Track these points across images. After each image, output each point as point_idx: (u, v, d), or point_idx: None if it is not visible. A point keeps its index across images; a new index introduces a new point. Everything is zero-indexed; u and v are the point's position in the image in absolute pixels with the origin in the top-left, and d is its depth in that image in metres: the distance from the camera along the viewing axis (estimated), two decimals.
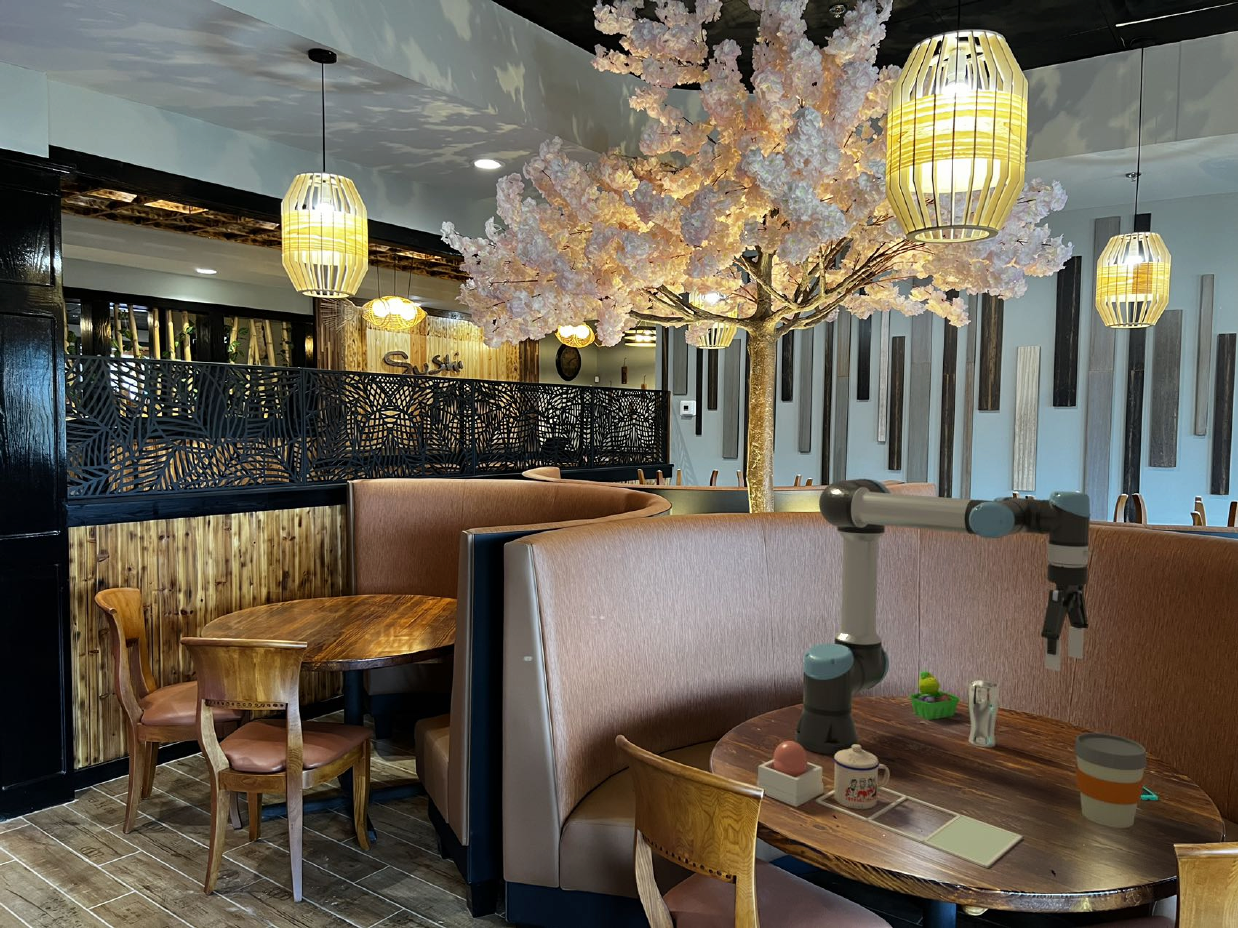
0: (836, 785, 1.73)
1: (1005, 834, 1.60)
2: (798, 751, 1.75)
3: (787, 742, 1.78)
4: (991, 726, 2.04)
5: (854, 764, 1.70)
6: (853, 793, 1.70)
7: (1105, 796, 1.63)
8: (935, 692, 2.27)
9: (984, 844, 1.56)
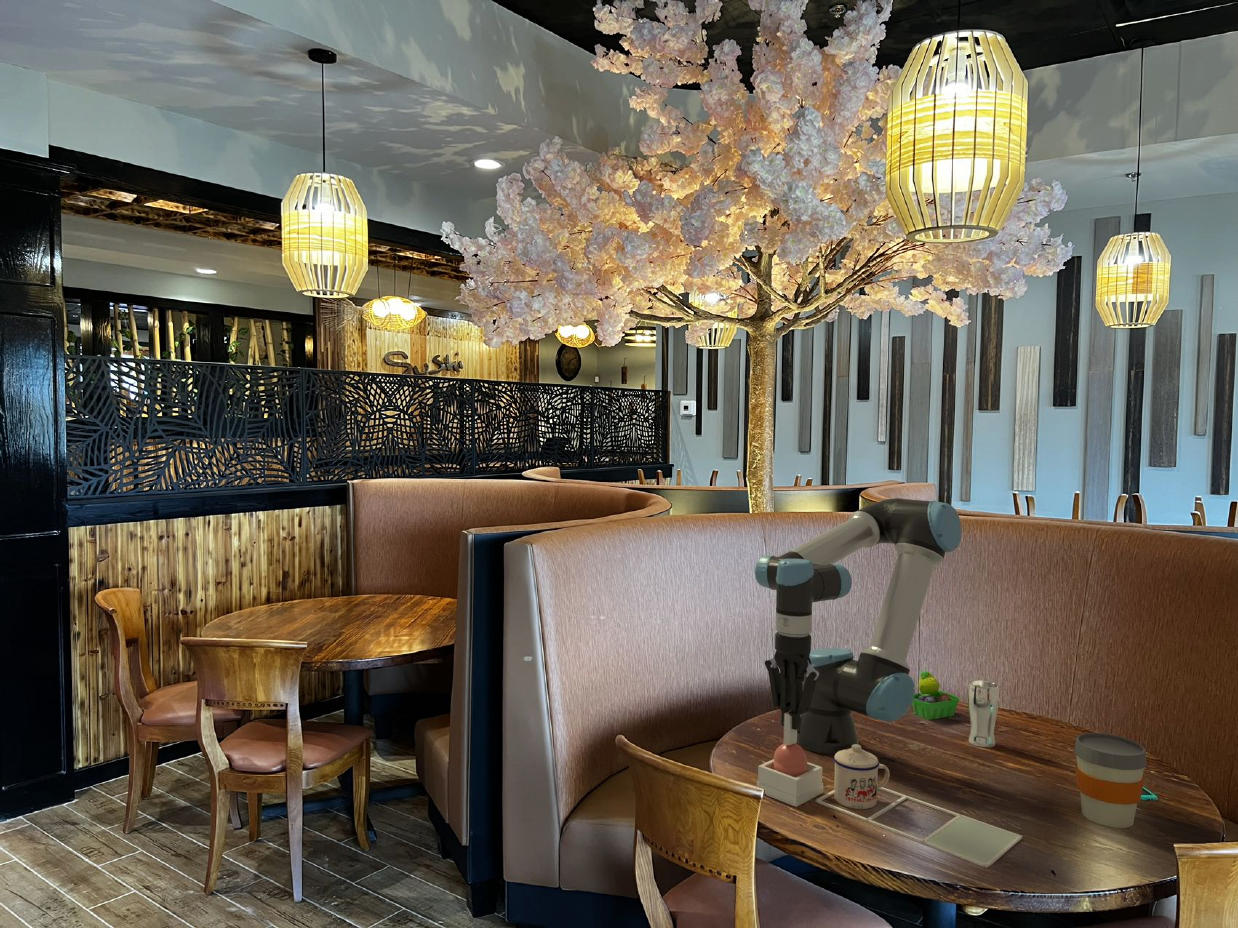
0: (836, 785, 1.73)
1: (1005, 834, 1.60)
2: (798, 753, 1.75)
3: None
4: (991, 726, 2.04)
5: (854, 764, 1.70)
6: (853, 793, 1.70)
7: (1105, 796, 1.63)
8: (935, 692, 2.27)
9: (984, 844, 1.56)
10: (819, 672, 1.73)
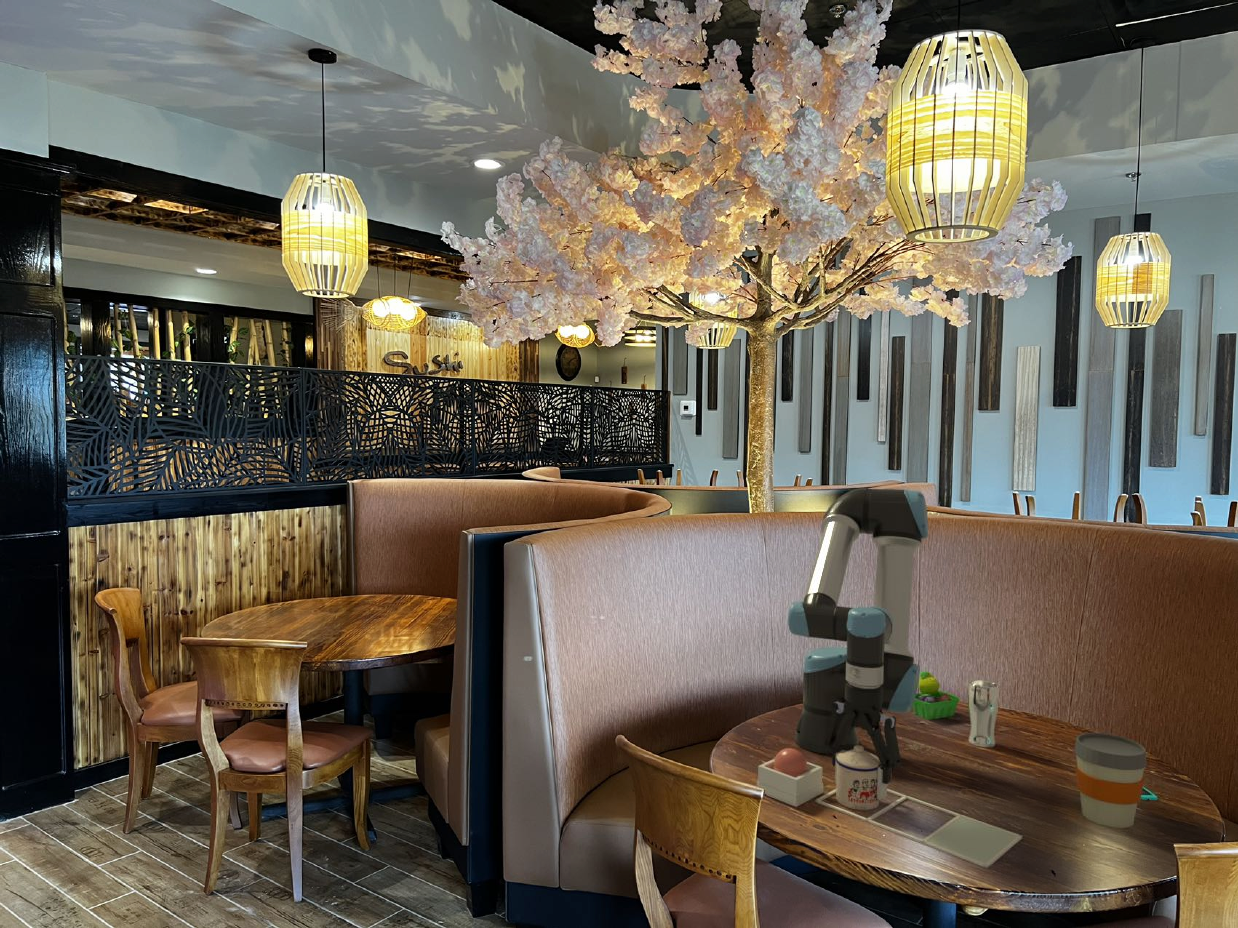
0: (838, 786, 1.73)
1: (1005, 834, 1.60)
2: (798, 759, 1.75)
3: (787, 749, 1.78)
4: (991, 726, 2.04)
5: (857, 765, 1.70)
6: (855, 794, 1.70)
7: (1105, 796, 1.63)
8: (935, 692, 2.27)
9: (984, 844, 1.56)
10: (893, 717, 1.70)
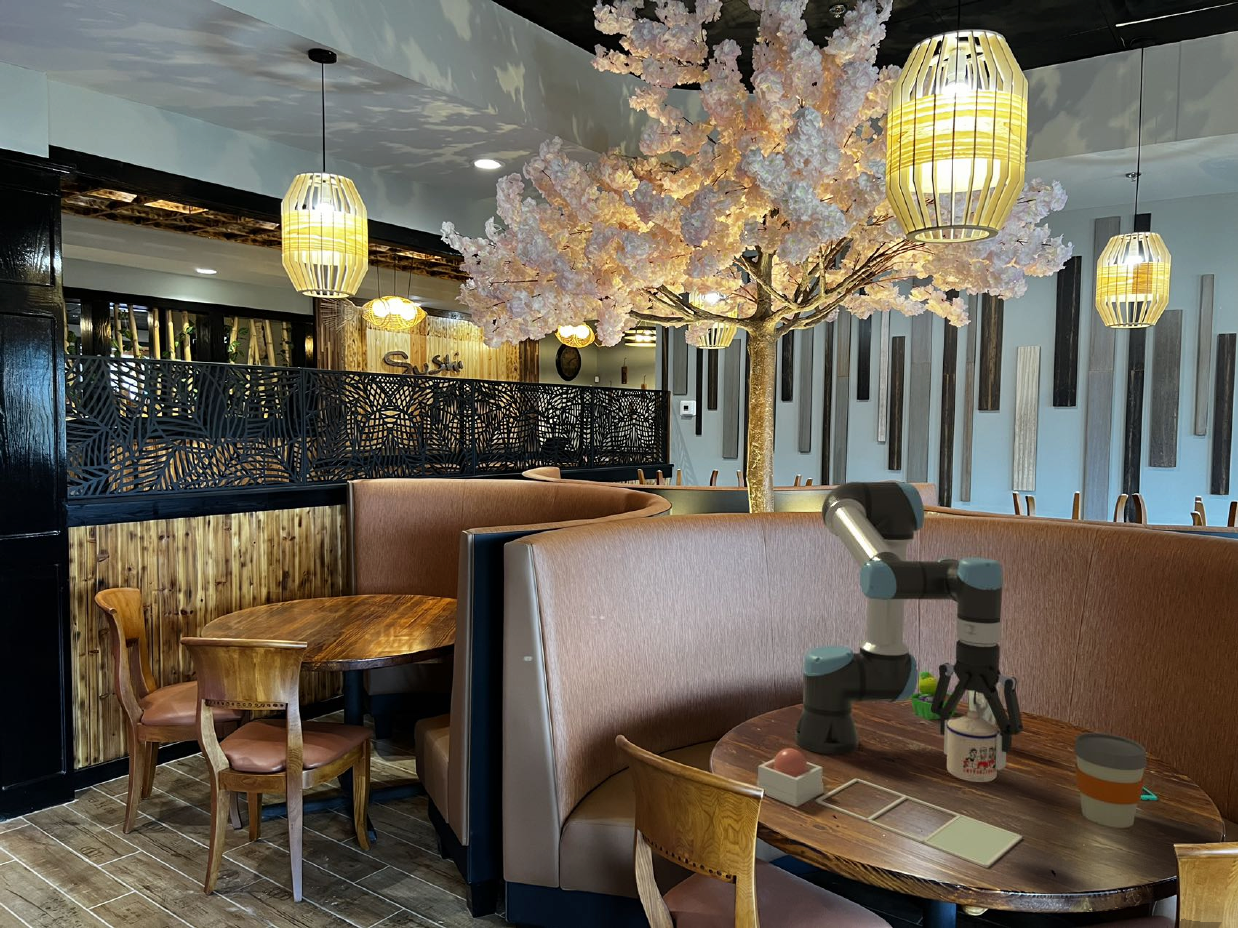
0: (951, 756, 1.55)
1: (1005, 834, 1.60)
2: (798, 759, 1.75)
3: (787, 749, 1.78)
4: None
5: (973, 732, 1.52)
6: (972, 764, 1.52)
7: (1105, 796, 1.63)
8: None
9: (984, 844, 1.56)
10: (1014, 678, 1.52)
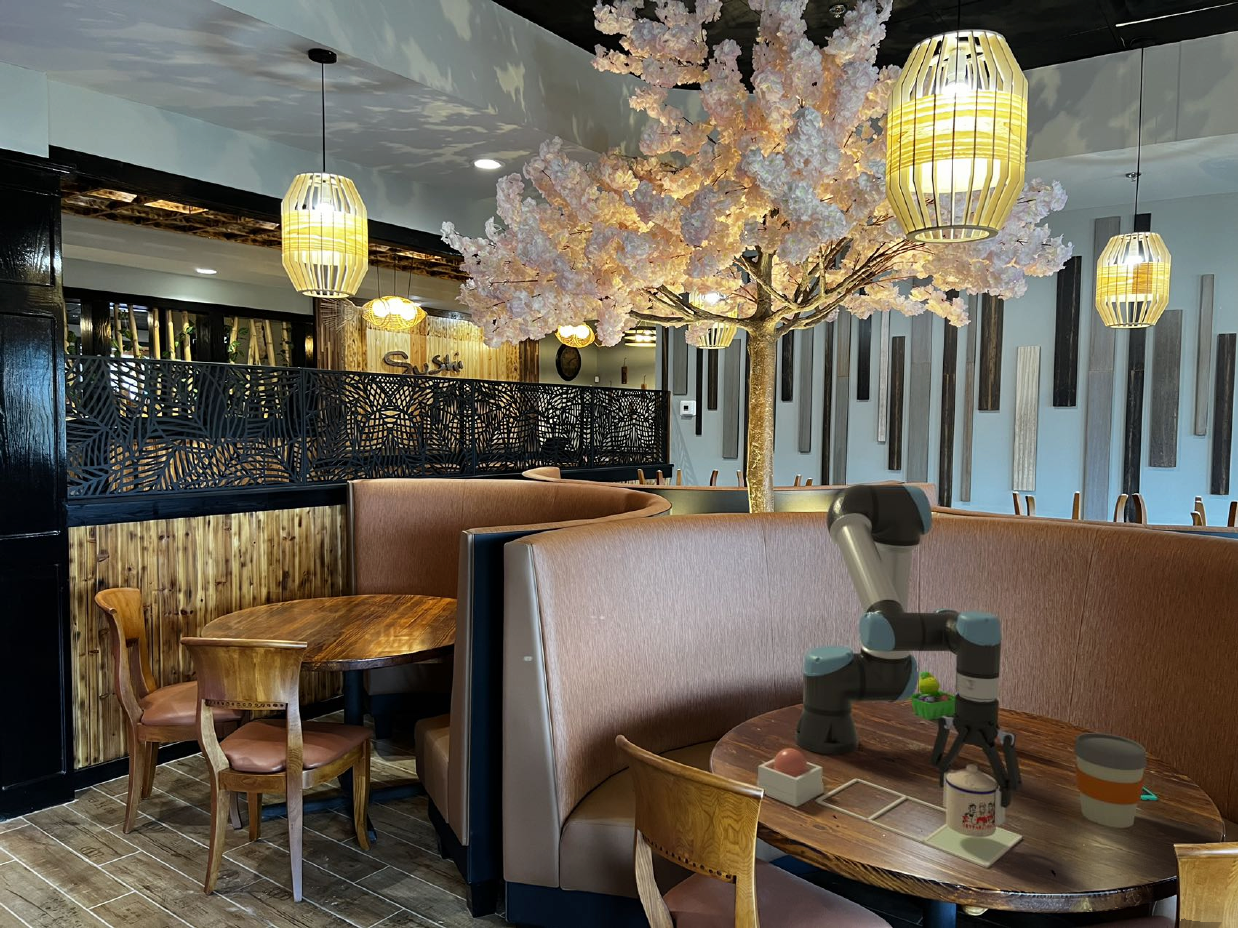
0: (950, 810, 1.56)
1: (1005, 834, 1.60)
2: (798, 759, 1.75)
3: (787, 749, 1.78)
4: None
5: (972, 787, 1.53)
6: (971, 820, 1.53)
7: (1105, 796, 1.63)
8: (935, 692, 2.27)
9: (984, 844, 1.56)
10: (1013, 734, 1.53)
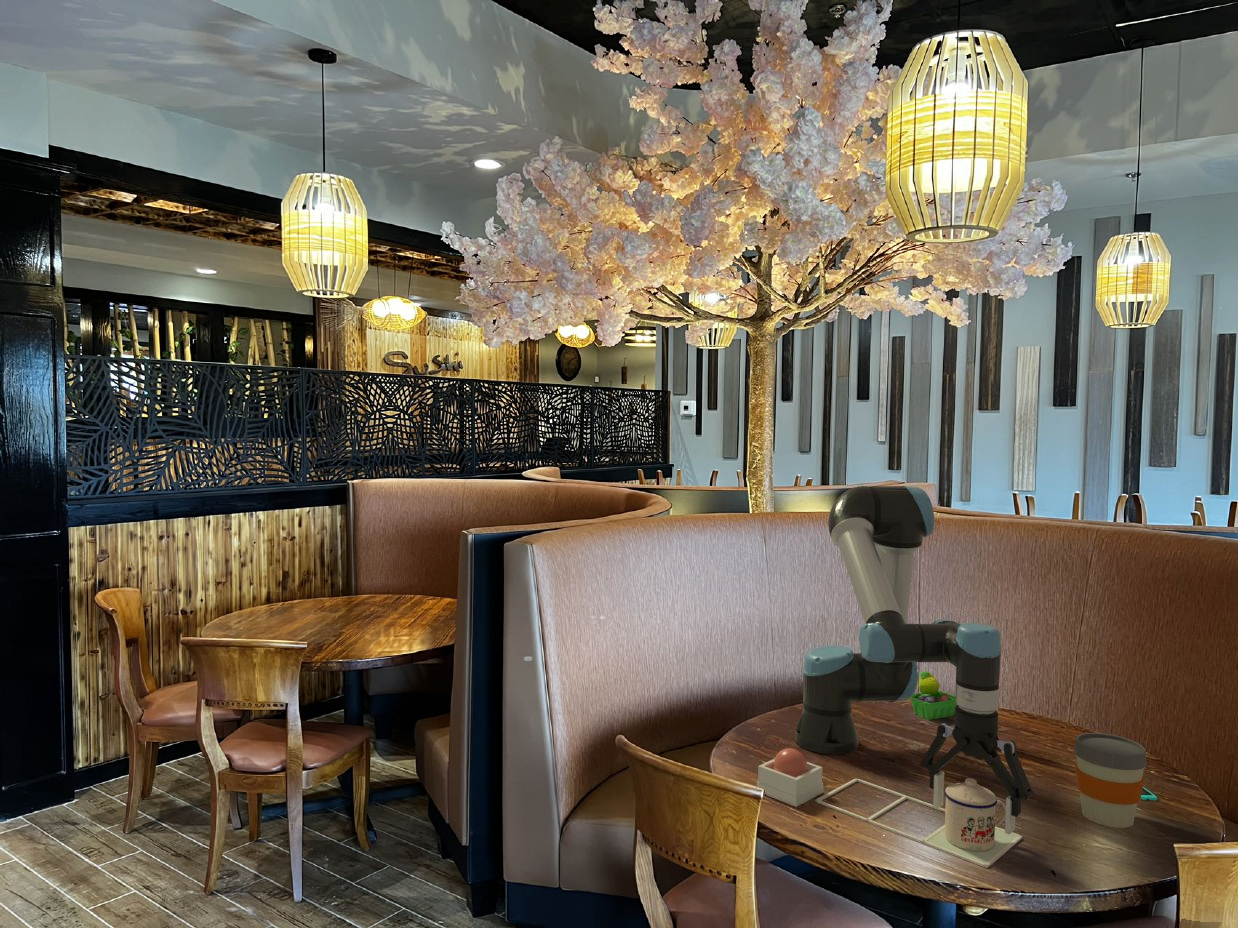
0: (949, 824, 1.56)
1: (1005, 834, 1.60)
2: (798, 759, 1.75)
3: (787, 749, 1.78)
4: None
5: (971, 801, 1.53)
6: (970, 834, 1.53)
7: (1105, 796, 1.63)
8: (935, 692, 2.27)
9: None
10: (1012, 741, 1.53)
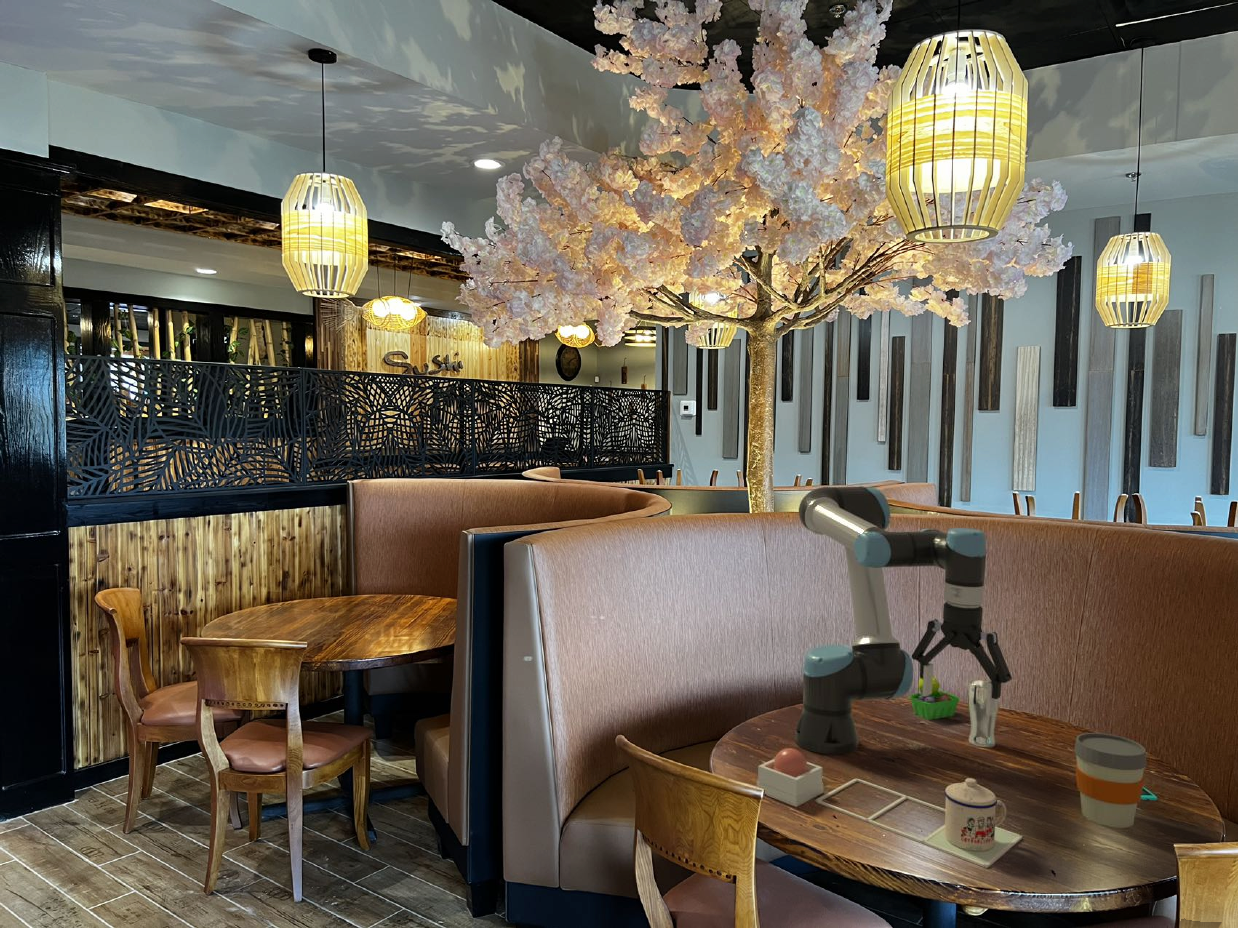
0: (949, 824, 1.56)
1: (1005, 834, 1.60)
2: (798, 759, 1.75)
3: (787, 749, 1.78)
4: (991, 726, 2.04)
5: (971, 801, 1.53)
6: (970, 834, 1.53)
7: (1105, 796, 1.63)
8: (935, 692, 2.27)
9: None
10: (994, 632, 1.69)
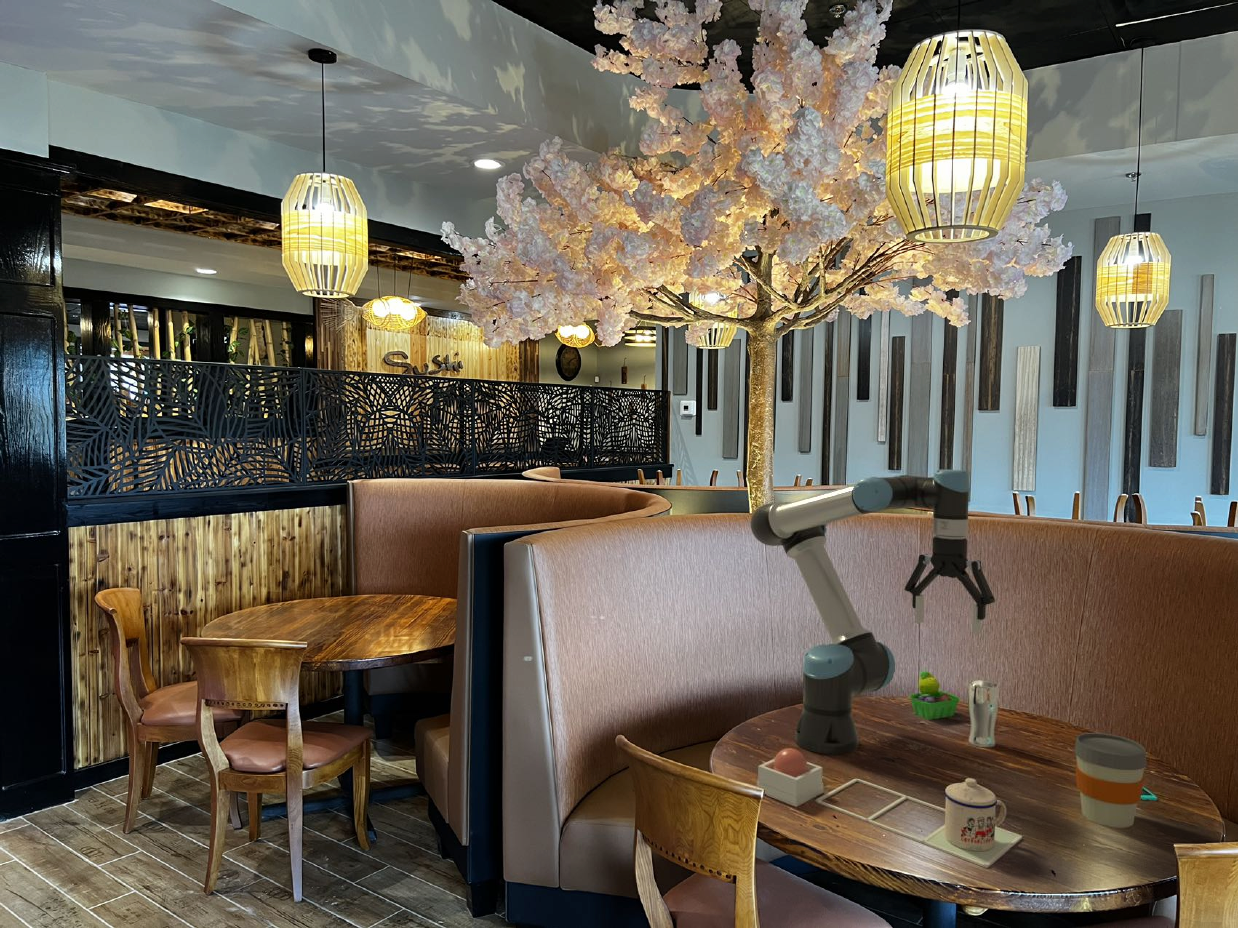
0: (949, 824, 1.56)
1: (1005, 834, 1.60)
2: (798, 759, 1.75)
3: (787, 749, 1.78)
4: (991, 726, 2.04)
5: (971, 801, 1.53)
6: (970, 834, 1.53)
7: (1105, 796, 1.63)
8: (935, 692, 2.27)
9: None
10: (978, 560, 1.89)
